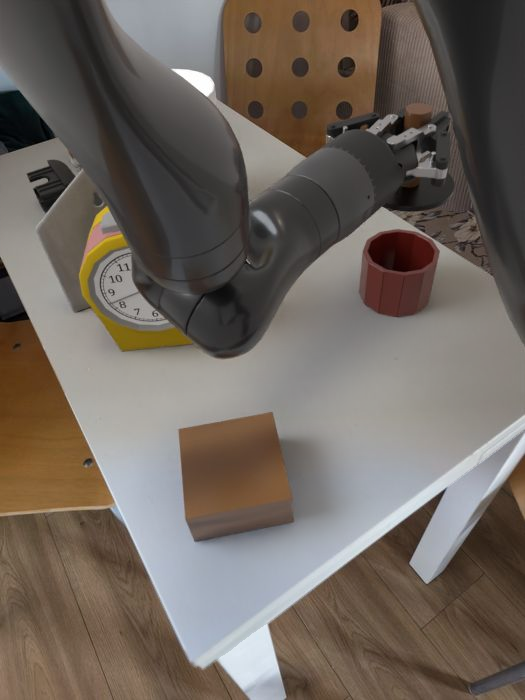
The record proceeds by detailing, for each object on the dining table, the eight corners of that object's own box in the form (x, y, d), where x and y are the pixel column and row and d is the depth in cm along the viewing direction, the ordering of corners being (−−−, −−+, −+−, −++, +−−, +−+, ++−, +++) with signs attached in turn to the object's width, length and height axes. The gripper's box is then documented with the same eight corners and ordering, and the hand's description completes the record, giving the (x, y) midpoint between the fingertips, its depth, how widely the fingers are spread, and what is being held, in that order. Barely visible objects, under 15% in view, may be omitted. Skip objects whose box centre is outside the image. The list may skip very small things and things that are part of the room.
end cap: (95, 214, 88) (82, 177, 83) (55, 228, 86) (39, 192, 81) (77, 189, 94) (63, 154, 89) (38, 202, 92) (23, 167, 87)
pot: (440, 309, 67) (451, 267, 62) (372, 321, 67) (377, 280, 62) (414, 266, 74) (422, 224, 68) (351, 276, 73) (354, 235, 68)
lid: (469, 203, 55) (491, 122, 48) (377, 218, 54) (387, 138, 47) (432, 158, 61) (446, 82, 55) (350, 171, 61) (355, 95, 54)
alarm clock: (107, 356, 66) (54, 237, 52) (114, 312, 71) (68, 193, 58) (223, 344, 66) (201, 221, 52) (221, 301, 71) (201, 179, 58)
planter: (166, 246, 81) (135, 123, 66) (183, 275, 76) (153, 148, 61) (62, 281, 77) (6, 157, 62) (73, 313, 72) (14, 187, 57)
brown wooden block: (293, 522, 50) (292, 498, 46) (194, 541, 49) (185, 519, 45) (274, 438, 56) (272, 411, 52) (187, 454, 55) (178, 429, 52)
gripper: (413, 174, 40) (506, 94, 48) (272, 129, 46) (375, 65, 55) (400, 253, 45) (485, 168, 54) (276, 203, 52) (369, 135, 60)
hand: (429, 117), depth 54 cm, fingers closed on lid, 2 cm apart
